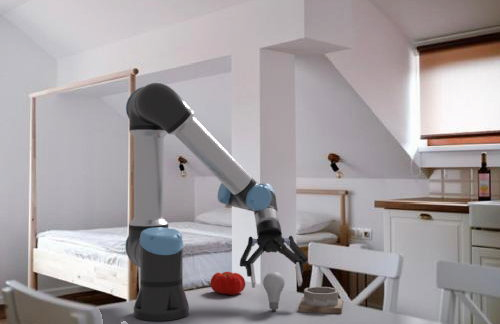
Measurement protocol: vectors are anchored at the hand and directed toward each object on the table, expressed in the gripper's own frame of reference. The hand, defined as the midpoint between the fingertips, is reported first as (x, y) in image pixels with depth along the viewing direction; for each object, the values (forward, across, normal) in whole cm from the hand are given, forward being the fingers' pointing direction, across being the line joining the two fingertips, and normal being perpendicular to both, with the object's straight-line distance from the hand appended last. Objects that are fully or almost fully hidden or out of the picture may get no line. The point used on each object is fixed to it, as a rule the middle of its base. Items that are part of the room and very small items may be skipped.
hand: (277, 284), depth 175 cm
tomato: (-11, +12, -21) cm, 27 cm away
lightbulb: (+6, +1, -4) cm, 8 cm away
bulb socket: (+5, -13, -5) cm, 15 cm away
